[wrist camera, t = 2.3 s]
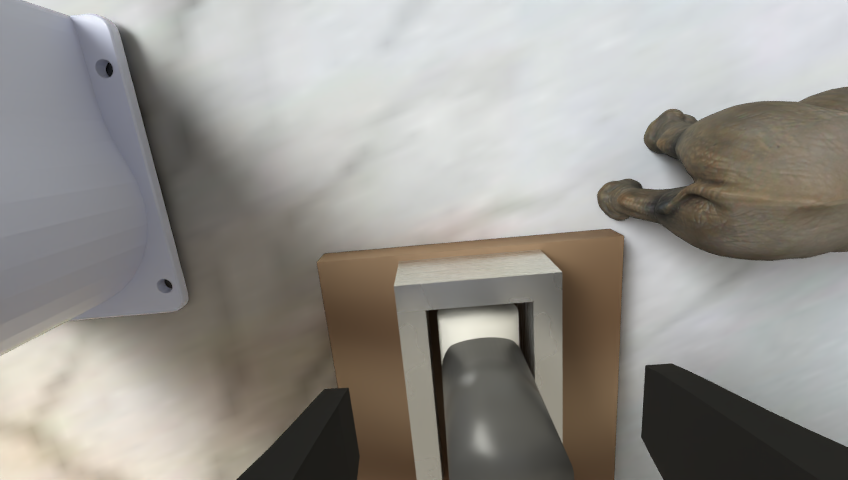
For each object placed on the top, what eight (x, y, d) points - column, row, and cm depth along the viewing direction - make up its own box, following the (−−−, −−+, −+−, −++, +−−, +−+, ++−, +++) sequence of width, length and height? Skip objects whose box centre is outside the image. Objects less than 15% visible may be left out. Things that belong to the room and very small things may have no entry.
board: (324, 253, 14) (316, 262, 13) (610, 228, 14) (624, 235, 13) (382, 611, 18) (380, 637, 18) (598, 597, 18) (608, 623, 17)
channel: (398, 261, 13) (393, 286, 11) (539, 248, 13) (562, 272, 11) (423, 477, 15) (423, 533, 13) (543, 469, 15) (562, 524, 13)
